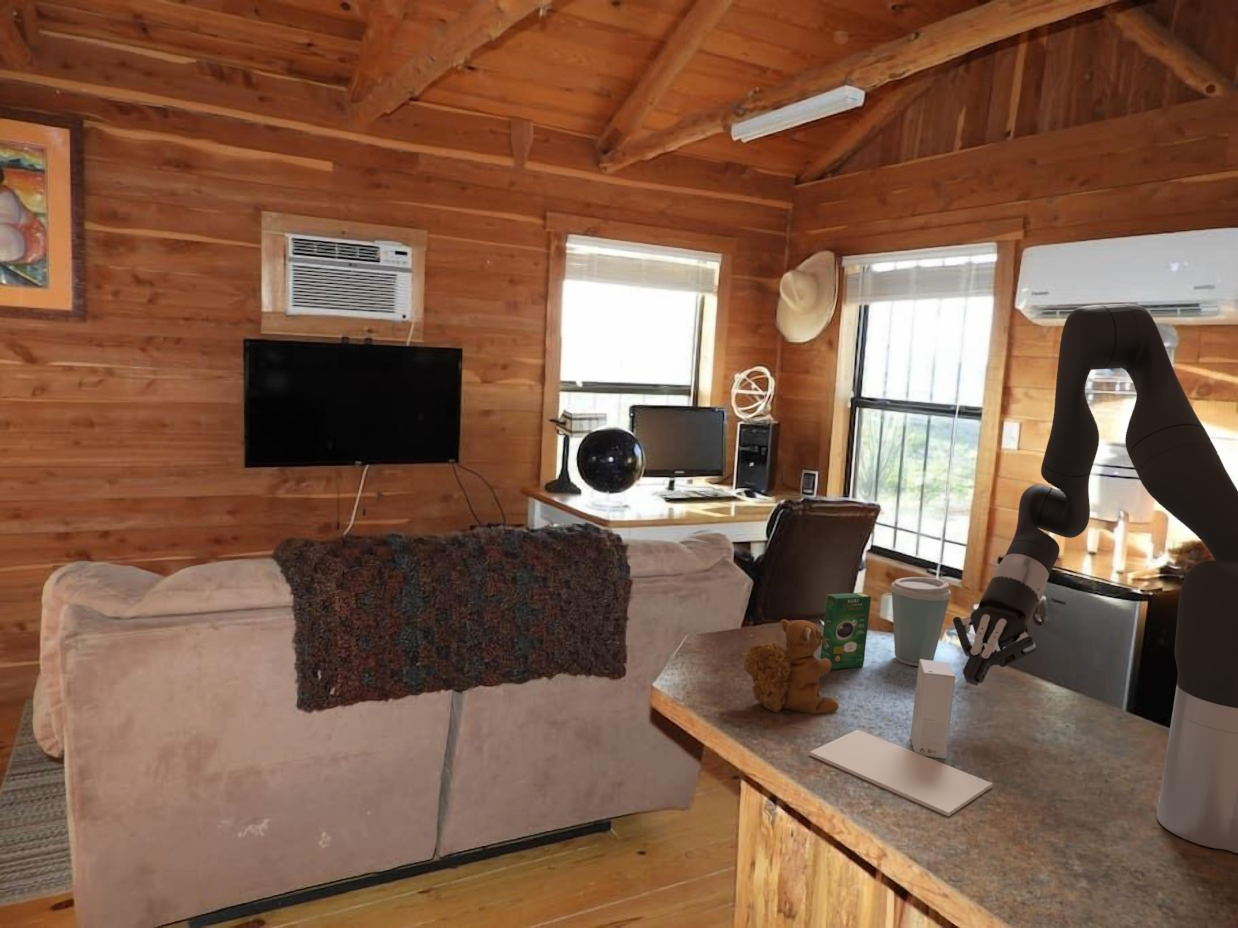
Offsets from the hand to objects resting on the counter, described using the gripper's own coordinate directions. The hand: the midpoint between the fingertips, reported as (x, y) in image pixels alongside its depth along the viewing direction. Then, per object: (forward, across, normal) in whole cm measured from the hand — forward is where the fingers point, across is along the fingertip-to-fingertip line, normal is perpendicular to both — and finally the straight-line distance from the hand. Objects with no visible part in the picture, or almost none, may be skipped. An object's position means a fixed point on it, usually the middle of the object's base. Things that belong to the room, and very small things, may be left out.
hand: (970, 681), depth 134 cm
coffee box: (0, -26, +10) cm, 28 cm away
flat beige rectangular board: (+20, +1, -10) cm, 22 cm away
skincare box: (+13, 0, -3) cm, 14 cm away
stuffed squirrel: (+16, -22, -5) cm, 28 cm away
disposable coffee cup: (-10, -20, +20) cm, 30 cm away
